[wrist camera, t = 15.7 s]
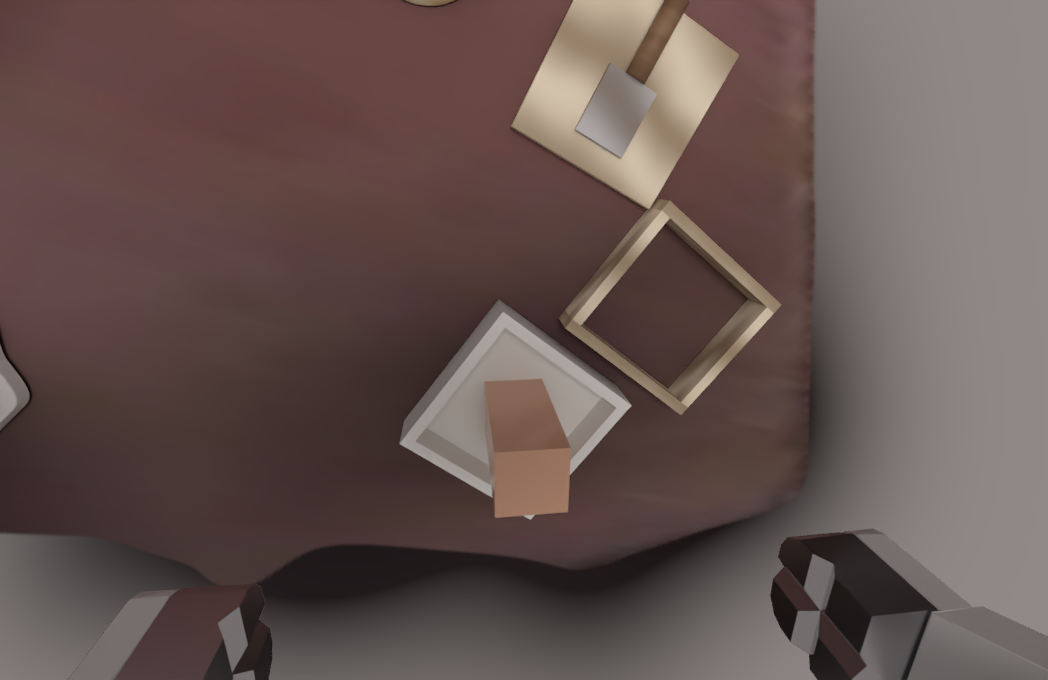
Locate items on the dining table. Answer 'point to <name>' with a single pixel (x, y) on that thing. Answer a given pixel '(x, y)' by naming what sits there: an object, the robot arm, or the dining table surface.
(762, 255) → the dining table surface
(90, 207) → the dining table surface
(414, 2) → the hand bell
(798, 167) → the dining table surface
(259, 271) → the dining table surface
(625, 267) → the birch bin
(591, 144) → the lid with scoop
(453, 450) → the white square tray
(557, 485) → the terracotta brick
